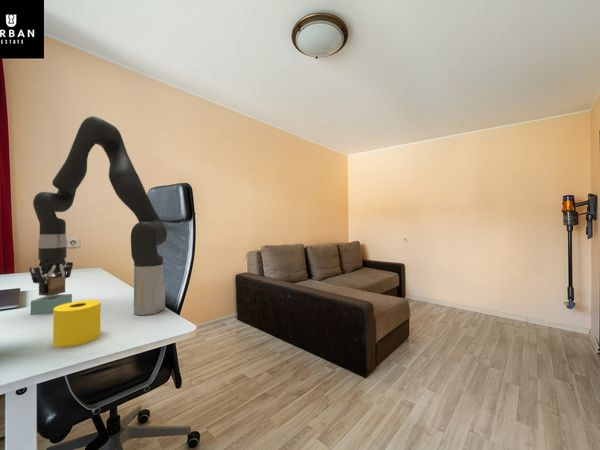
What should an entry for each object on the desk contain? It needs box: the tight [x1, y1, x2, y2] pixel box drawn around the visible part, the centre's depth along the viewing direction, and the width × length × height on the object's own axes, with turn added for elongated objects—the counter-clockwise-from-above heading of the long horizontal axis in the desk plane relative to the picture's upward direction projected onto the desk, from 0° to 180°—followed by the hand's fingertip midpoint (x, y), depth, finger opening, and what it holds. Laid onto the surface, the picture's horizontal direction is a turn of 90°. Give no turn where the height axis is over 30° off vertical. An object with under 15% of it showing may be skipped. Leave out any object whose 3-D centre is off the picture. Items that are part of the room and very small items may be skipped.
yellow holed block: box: [52, 299, 102, 348], centre depth 72 cm, size 10×10×9 cm
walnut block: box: [38, 276, 66, 297], centre depth 95 cm, size 5×5×6 cm
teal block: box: [30, 293, 73, 316], centre depth 95 cm, size 8×8×5 cm
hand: (52, 291), depth 95 cm, fingers closed on walnut block, 5 cm apart
